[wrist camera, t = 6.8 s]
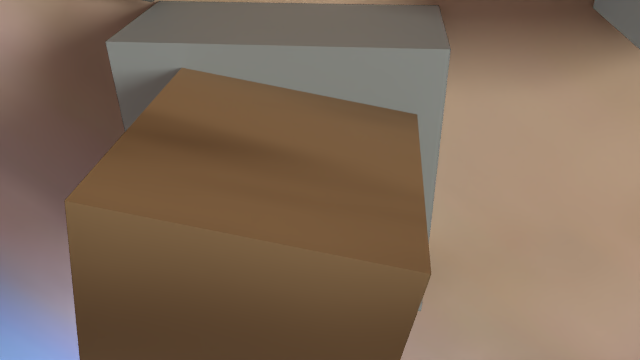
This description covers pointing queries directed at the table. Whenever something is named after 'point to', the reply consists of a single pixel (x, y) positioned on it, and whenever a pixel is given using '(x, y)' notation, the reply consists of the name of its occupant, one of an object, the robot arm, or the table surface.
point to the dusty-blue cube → (622, 16)
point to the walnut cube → (251, 229)
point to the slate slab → (296, 57)
